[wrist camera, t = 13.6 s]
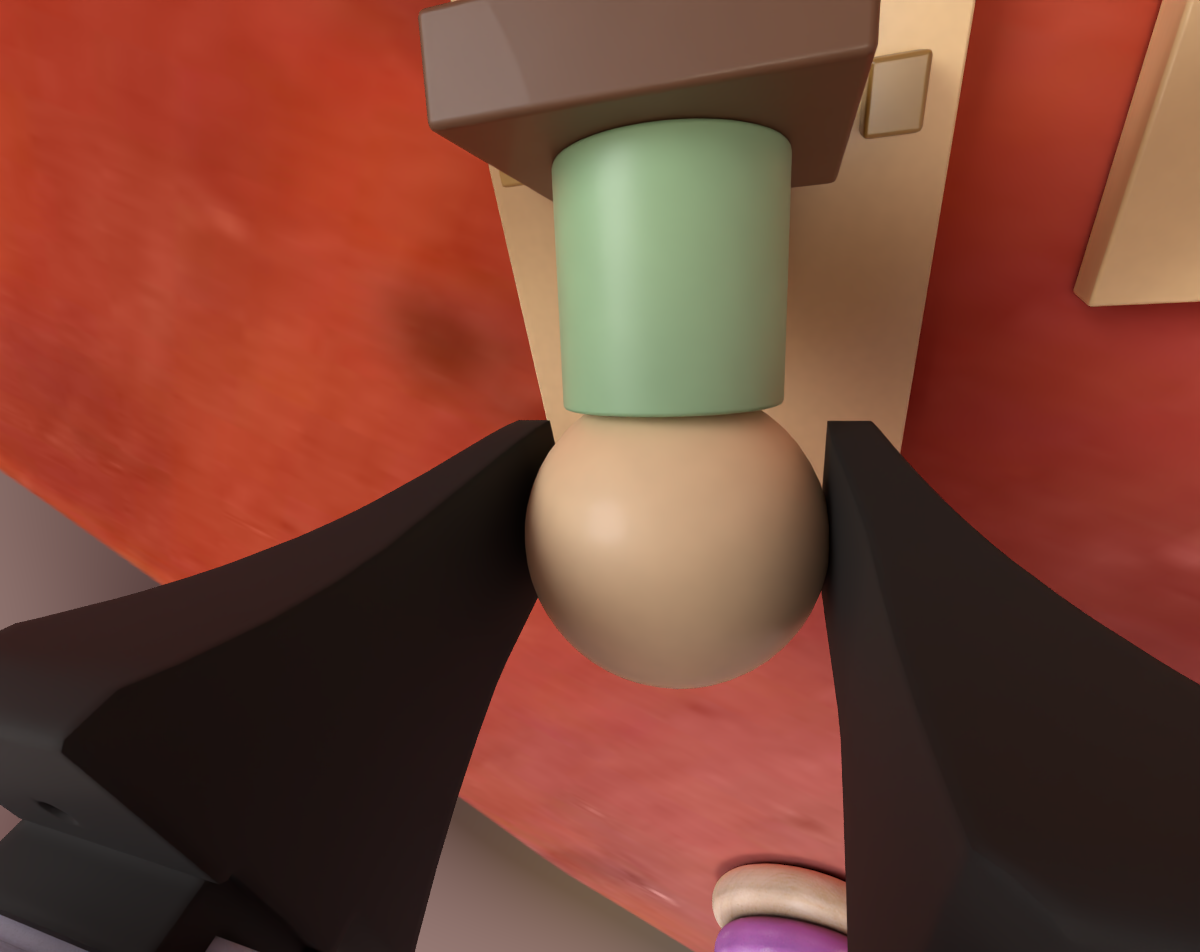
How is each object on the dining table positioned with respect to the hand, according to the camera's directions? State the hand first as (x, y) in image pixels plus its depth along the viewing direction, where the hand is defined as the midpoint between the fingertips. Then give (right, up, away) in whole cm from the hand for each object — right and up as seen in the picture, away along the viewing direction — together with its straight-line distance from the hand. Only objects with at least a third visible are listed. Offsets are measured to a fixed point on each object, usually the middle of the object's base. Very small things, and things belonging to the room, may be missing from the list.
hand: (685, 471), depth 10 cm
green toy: (0, +2, +1) cm, 2 cm away
